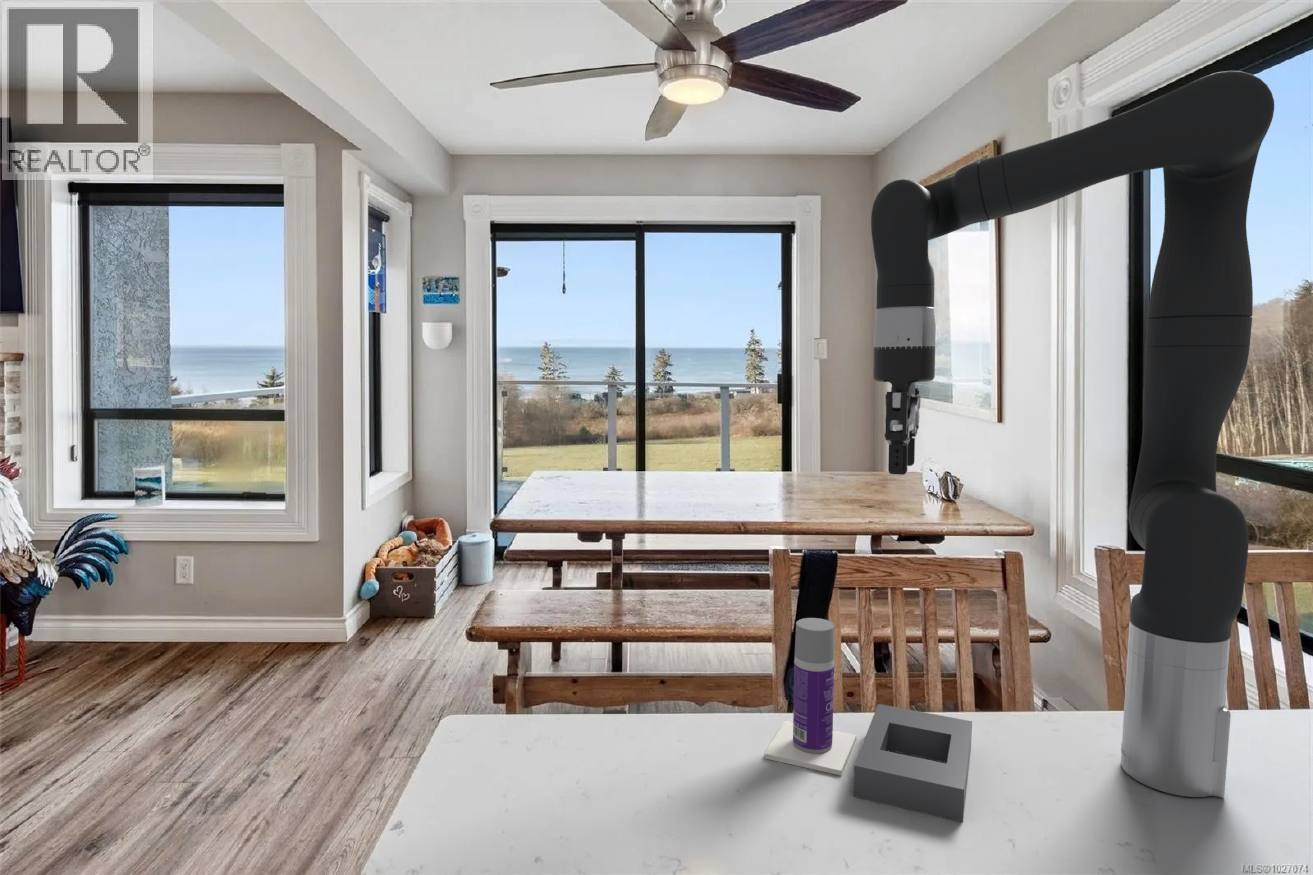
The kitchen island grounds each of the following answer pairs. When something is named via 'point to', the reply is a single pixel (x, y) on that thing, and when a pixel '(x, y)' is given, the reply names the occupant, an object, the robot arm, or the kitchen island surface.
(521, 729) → the kitchen island surface
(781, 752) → the tile
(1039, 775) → the kitchen island surface
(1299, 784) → the kitchen island surface
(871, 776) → the socket block
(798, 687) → the container
